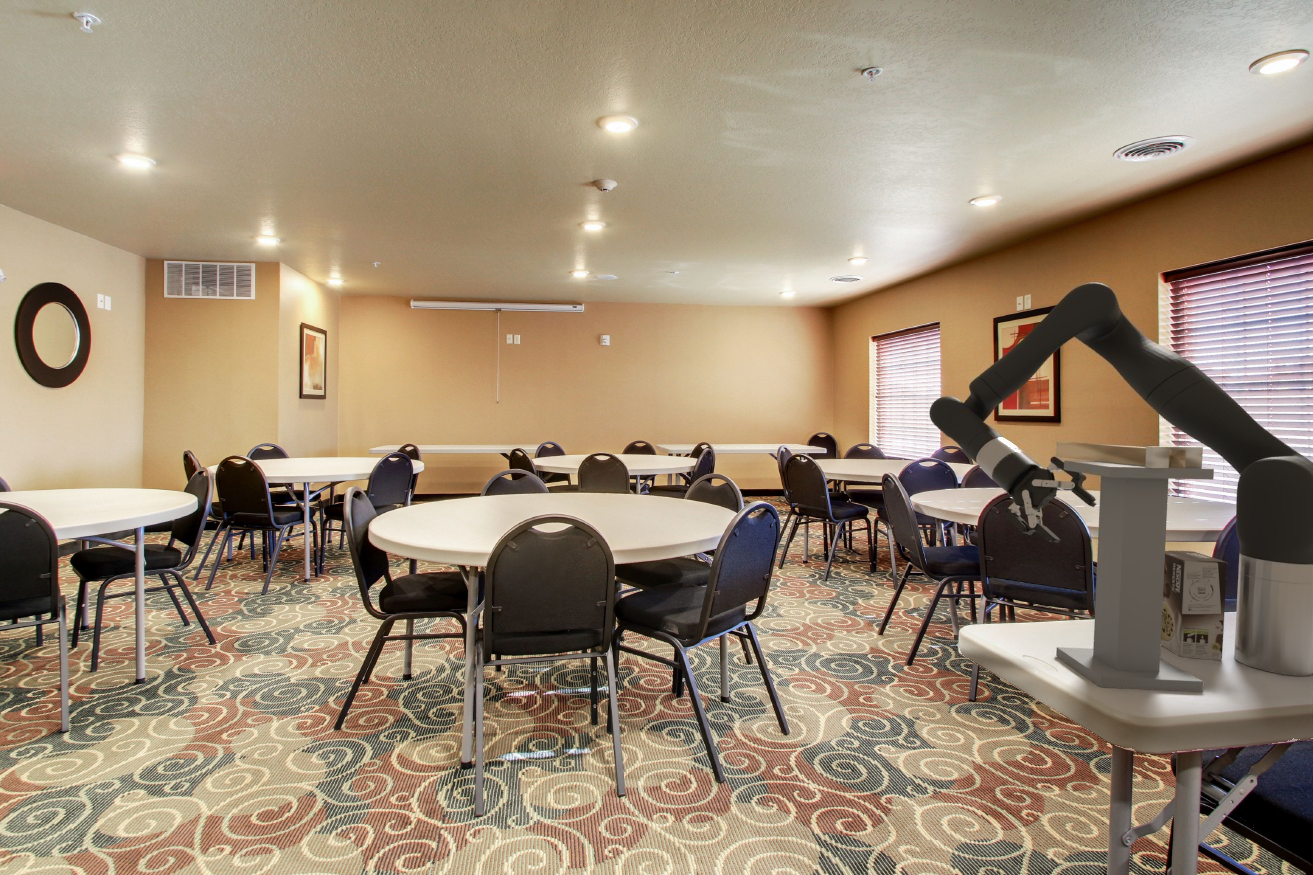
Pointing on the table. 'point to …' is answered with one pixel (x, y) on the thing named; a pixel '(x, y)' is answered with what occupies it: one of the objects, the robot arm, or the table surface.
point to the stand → (1130, 579)
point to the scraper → (1133, 454)
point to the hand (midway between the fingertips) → (1074, 523)
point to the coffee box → (1193, 604)
